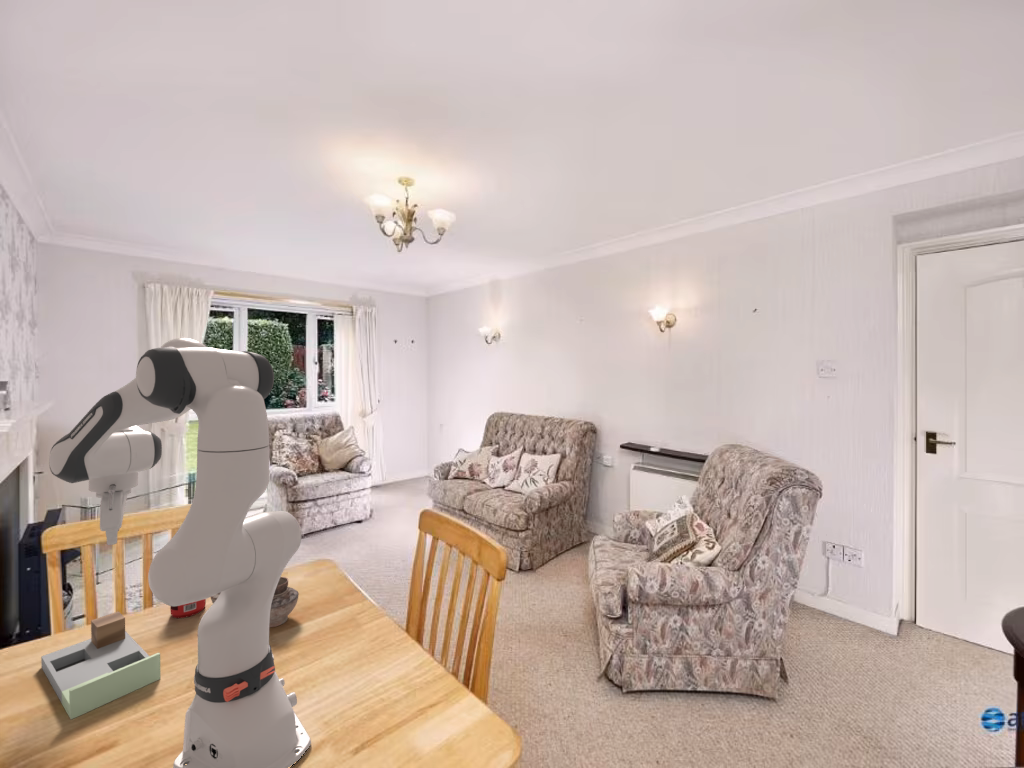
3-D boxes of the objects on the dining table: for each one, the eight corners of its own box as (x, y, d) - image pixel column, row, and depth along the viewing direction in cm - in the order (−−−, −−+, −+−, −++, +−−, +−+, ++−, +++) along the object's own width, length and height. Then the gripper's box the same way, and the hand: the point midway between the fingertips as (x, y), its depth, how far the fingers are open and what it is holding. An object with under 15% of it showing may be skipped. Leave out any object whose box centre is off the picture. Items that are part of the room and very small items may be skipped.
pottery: (234, 601, 129) (234, 560, 129) (307, 613, 123) (307, 570, 123) (198, 622, 118) (197, 577, 118) (276, 637, 112) (276, 589, 112)
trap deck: (160, 678, 96) (160, 653, 96) (70, 719, 85) (70, 691, 85) (122, 637, 111) (121, 615, 111) (41, 667, 100) (41, 643, 100)
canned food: (212, 604, 127) (212, 566, 127) (189, 619, 119) (189, 579, 119) (187, 603, 128) (187, 565, 128) (163, 618, 120) (162, 577, 120)
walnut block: (125, 638, 107) (125, 617, 107) (97, 648, 103) (97, 627, 102) (118, 631, 109) (118, 611, 109) (91, 641, 105) (91, 620, 105)
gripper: (129, 489, 101) (128, 549, 101) (132, 470, 117) (132, 522, 117) (91, 493, 97) (90, 555, 97) (99, 473, 113) (99, 527, 113)
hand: (113, 537), depth 108 cm, fingers open, 8 cm apart
